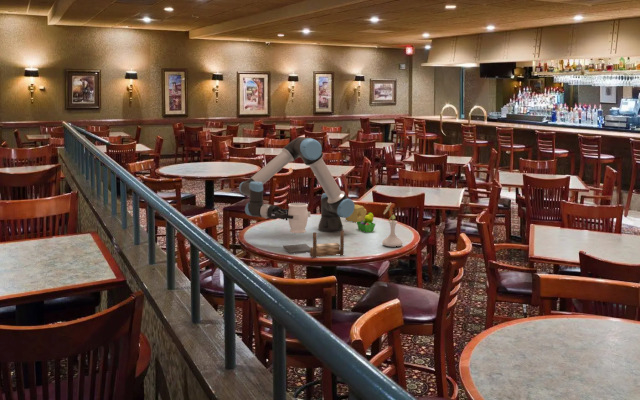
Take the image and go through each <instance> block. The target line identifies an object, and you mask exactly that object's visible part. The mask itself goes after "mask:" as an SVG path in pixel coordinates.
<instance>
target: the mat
mask: <svg viewBox="0 0 640 400" xmlns="http://www.w3.org/2000/svg"><path fill="white" fill-rule="evenodd" d="M311 247H312V246H311ZM311 247H310V245H308V244H306V243H303V244H302V243H300V244H290V245H289V244H285V245H282V248H283V249H284V250H285V251H286V252H287V253H289V254H290V255H292V254H293V255H294V253H295V254H306V252H308V253H310V251H311Z"/></svg>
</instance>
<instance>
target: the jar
mask: <svg viewBox="0 0 640 400" xmlns="http://www.w3.org/2000/svg"><path fill="white" fill-rule="evenodd" d="M287 205H288V209H289V211H288V214H294V215H299V220H291V219H288V220H287V221H288V225H289V228H290V230H289V231H290V233H293V234H304V233H306V232H307V230H306V227H307V224H308V218H309V217H308V212H309V211H308V206H309V204H308V203H304V202H292V203H288V204H287Z"/></svg>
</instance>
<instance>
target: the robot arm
mask: <svg viewBox="0 0 640 400" xmlns="http://www.w3.org/2000/svg"><path fill="white" fill-rule="evenodd" d="M322 151H323V147H322V144H321V143H320V141H318V140H316V139H314V138H311V137H310V138H309V137H303V136H300V137H296V138H294V139H293V140H291V141H290V142H289V143H288V144H286V145H285V146H284V147H283V148H282V150H281V152H279V153H278V154H277V155H276V156H275V157H273V158H272V159H271V160H270V161H269V162H268V163H267V164H266V165H264V166H263V167H262V168H261V169H259V170H258V171H257V172H256V173H255V174H253V176H251V177H250V178H249V179H247V180H245V181H241V183H240V184H239V186H238V190H239V192H240V193H241V194H242V195H244V196H247V197H248V198H249V202H247V203H246V204H245V207H244V212H245V214H246V215H247V216H250V217H256V218H263V219H266V220H267V219H271V220H272V219H273V220H277V219H280V220H282V221H283V220H285V221H289V220H288V219H291V220H299V215H294V214H288V211H289V208H281V209H280V206H279V205H275V204H274V205H273V204H267V203H266V204H265V203H264V184H266V183H267V182H268V181H269V180H270V179H271V178H273V177H274V176H275V175H276V174H277V173H279V172H280V171H281V170H282V169H283V168H284V167H285V166H287V165H288V164H289V163H290V162H294V161H295V160H297V159H298V158H301V160H302V161H303V163H304V164H305V166H309V168H310V169H311V171H312V172H313V175H314V176H315V178H316V180H317V181H318V183H319V185H320V186H321V188H322V189H323V191H324V193H322V194H321V198H320V202H321V203H320V208H321V212H320V215H321V216H320V220H319V222H318V228H317V229H318V231H320V232H325V233H338V232H340V231H344V229H343V228H344V227H343V226H344V225H343V222H342V220H341V218H344V219H346V218H347V217H349V216H351V215H352V213H353V212H354V208H355V205H356V204H355V202H354V201H353V200H352V199H351V198H349V197H348V195H347V194H346V192H345V191H344V190H341V188H340V187H339V185H338V184H337V182H336V180H335V178H334V176H333V175H332V173H331V171H330V169H329V167H328V166H327V164H326V163H325V161H324V159H323V157H324V153H323V152H322ZM308 218H311V211H308Z"/></svg>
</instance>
